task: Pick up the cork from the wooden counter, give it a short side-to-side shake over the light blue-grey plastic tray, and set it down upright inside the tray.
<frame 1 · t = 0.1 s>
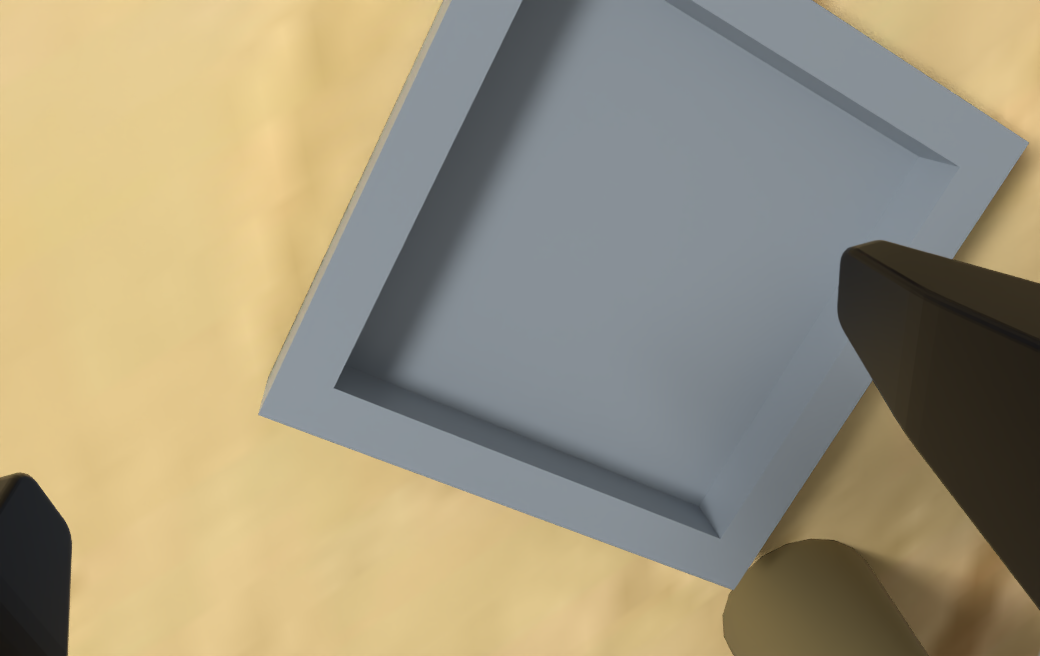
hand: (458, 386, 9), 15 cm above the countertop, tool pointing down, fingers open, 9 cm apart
cork: (796, 604, 32), on the countertop
tray: (626, 252, 26), on the countertop
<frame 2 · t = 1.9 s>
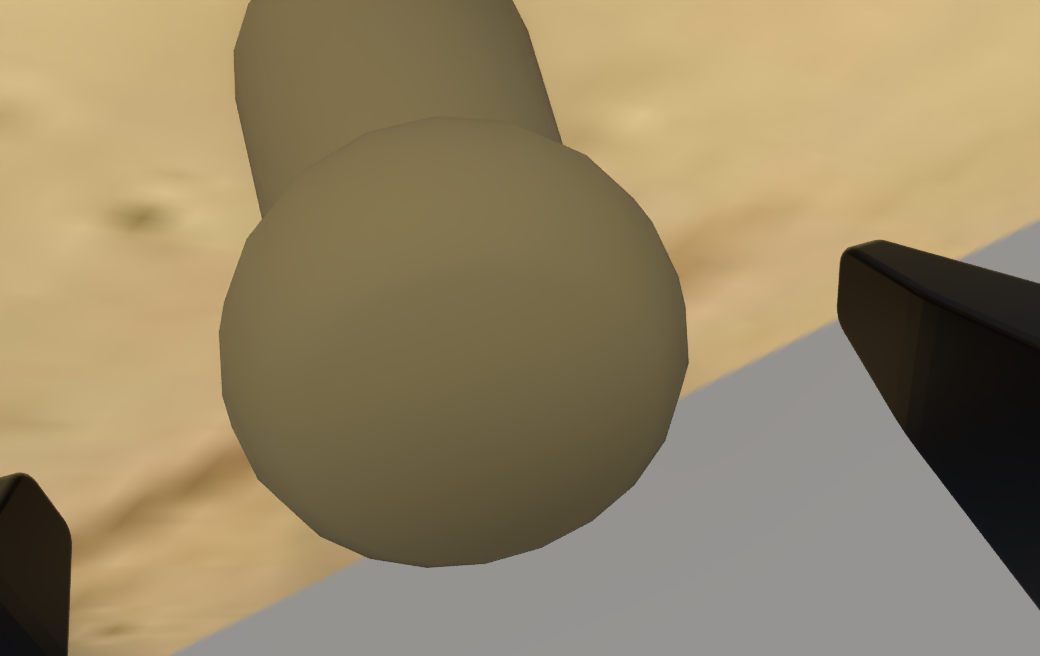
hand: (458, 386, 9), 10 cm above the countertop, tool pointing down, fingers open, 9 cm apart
cork: (388, 84, 17), on the countertop
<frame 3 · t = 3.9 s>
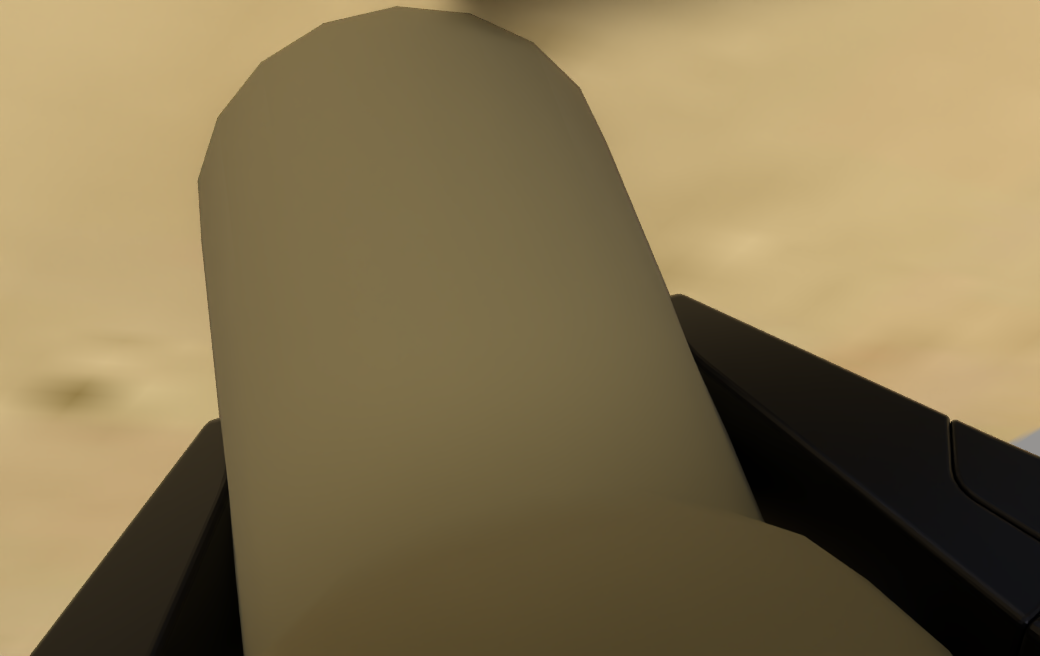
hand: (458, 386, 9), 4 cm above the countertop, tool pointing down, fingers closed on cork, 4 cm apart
cork: (414, 213, 13), on the countertop, touching gripper
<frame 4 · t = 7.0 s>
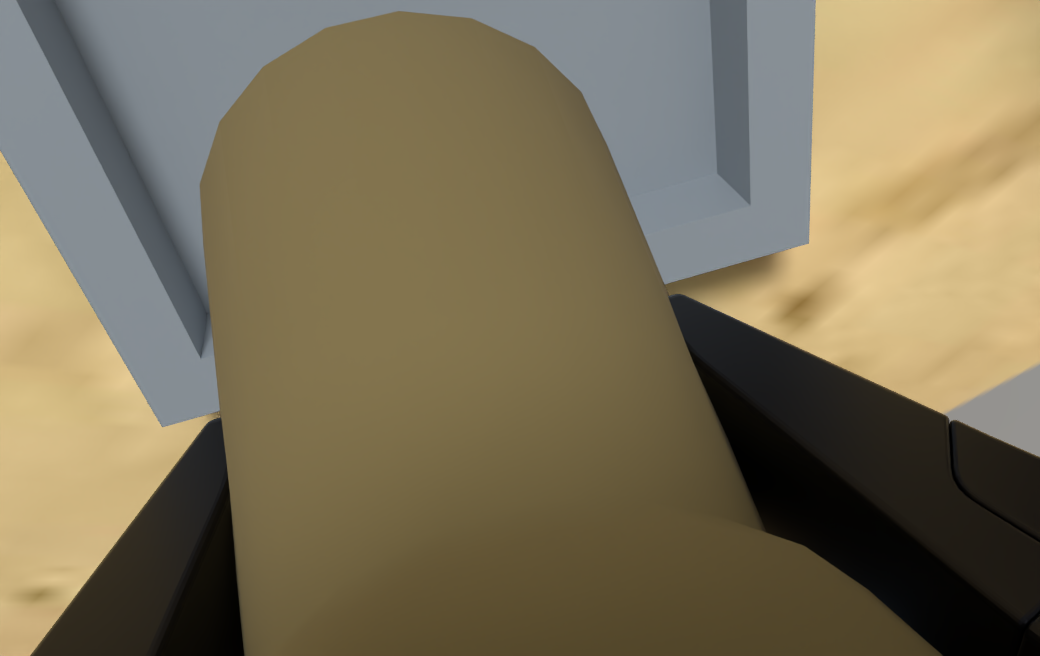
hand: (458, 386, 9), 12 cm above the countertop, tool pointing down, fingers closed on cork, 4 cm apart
cork: (415, 217, 13), point 7 cm above the countertop, touching gripper
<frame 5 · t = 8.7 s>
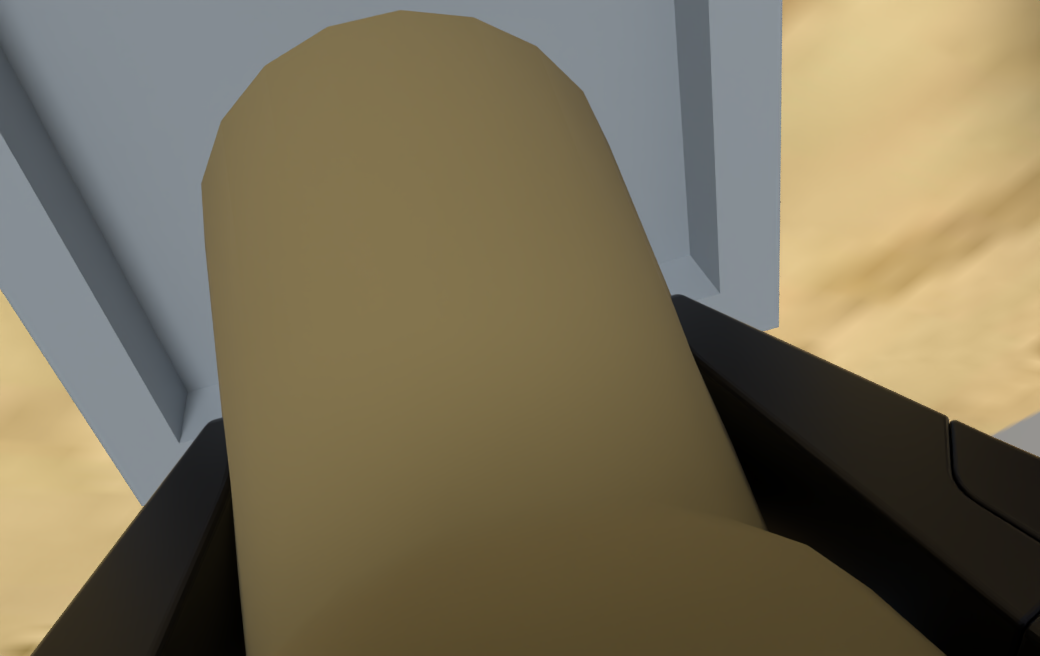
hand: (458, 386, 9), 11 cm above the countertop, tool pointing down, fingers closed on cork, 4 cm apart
cork: (417, 216, 13), point 7 cm above the countertop, touching gripper
tray: (371, 62, 18), on the countertop
when the fingers open (5 cm above the countertop, at t = 10.3 s): cork stays where it is, resting on tray.
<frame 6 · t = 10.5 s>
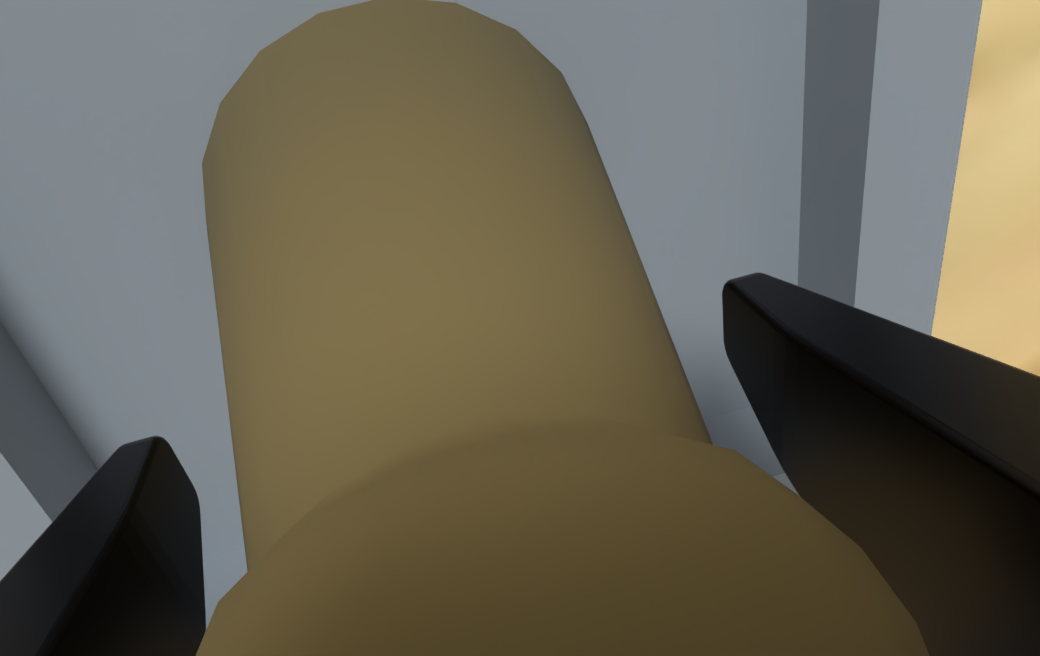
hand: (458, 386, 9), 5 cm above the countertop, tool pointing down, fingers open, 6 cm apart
cork: (406, 194, 13), resting on tray
tray: (406, 176, 14), on the countertop
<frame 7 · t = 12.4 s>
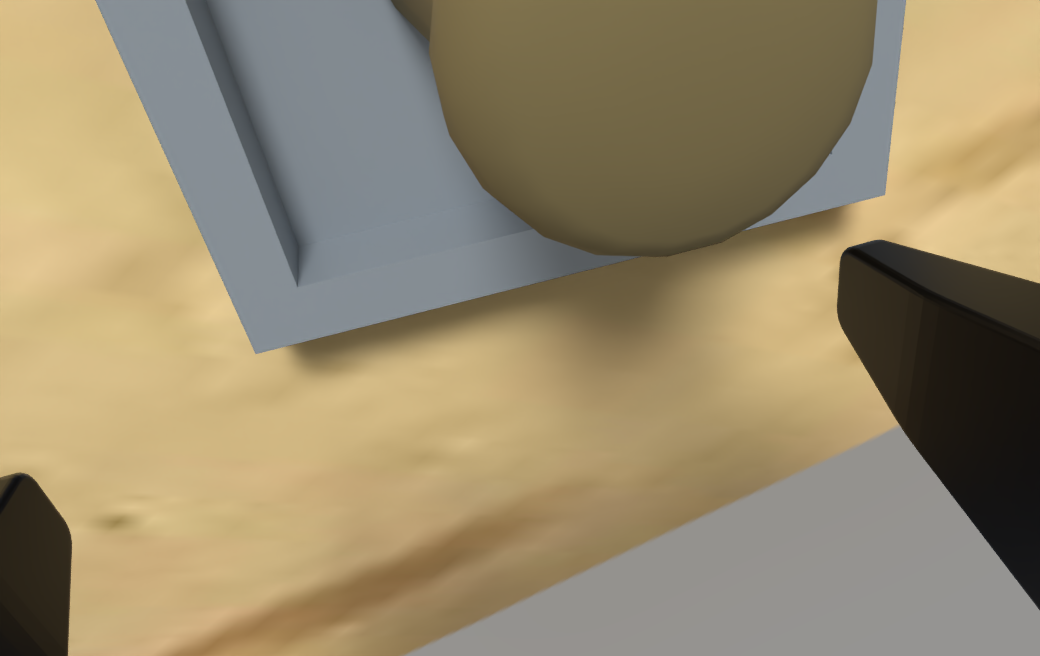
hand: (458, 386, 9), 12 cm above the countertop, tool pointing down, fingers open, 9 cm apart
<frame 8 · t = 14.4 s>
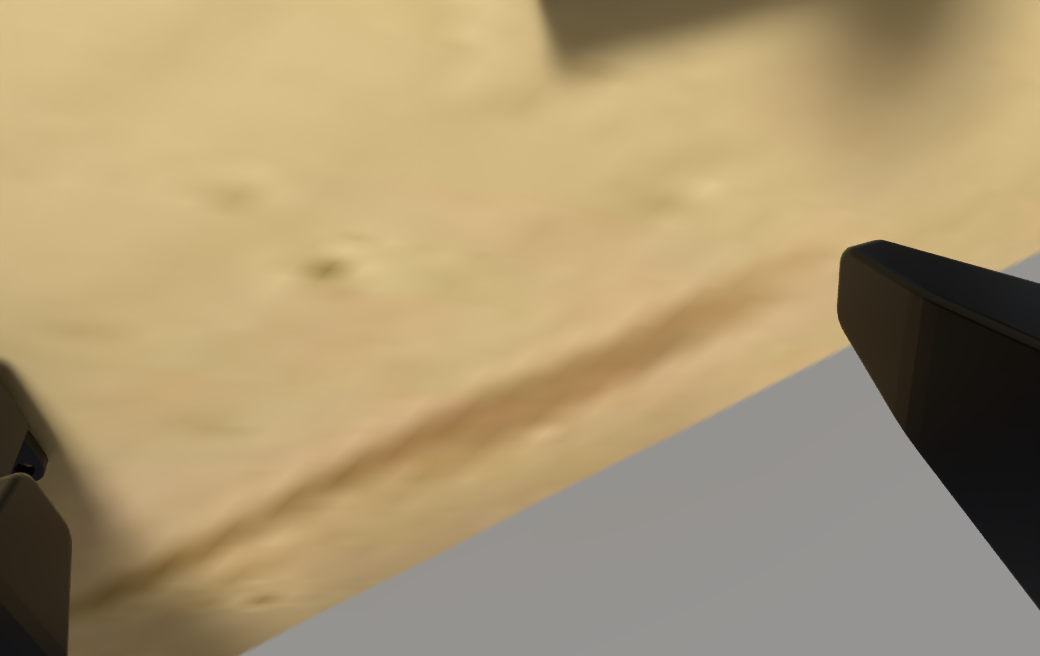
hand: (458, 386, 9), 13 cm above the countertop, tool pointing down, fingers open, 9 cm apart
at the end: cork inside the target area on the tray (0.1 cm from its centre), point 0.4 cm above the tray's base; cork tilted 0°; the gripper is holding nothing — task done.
